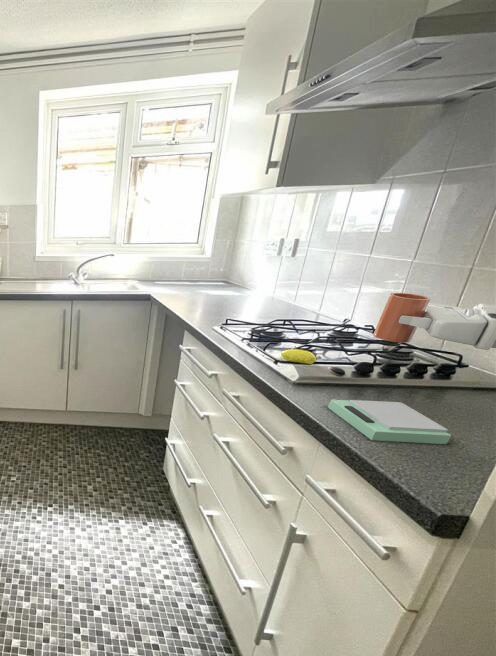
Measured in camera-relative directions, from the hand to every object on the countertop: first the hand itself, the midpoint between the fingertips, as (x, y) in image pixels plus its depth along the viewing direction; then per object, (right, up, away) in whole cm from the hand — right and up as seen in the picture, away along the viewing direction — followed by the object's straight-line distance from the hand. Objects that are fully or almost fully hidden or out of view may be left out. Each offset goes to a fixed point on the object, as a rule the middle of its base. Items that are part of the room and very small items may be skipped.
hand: (396, 314), depth 96 cm
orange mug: (+1, -5, +2) cm, 6 cm away
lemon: (-10, -10, +18) cm, 23 cm away
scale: (-15, -25, -12) cm, 31 cm away
